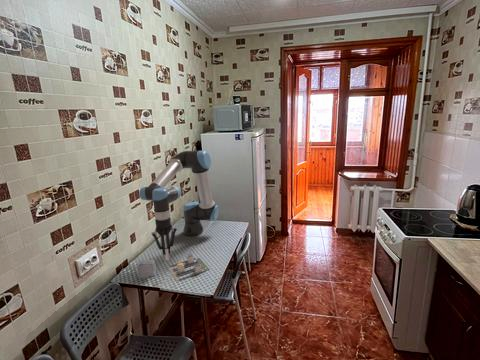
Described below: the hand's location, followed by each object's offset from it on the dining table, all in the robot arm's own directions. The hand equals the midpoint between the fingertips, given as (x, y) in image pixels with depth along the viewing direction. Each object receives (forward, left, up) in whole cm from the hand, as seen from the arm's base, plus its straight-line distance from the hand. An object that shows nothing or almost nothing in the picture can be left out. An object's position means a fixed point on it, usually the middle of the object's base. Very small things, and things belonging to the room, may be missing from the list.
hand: (167, 259), depth 139 cm
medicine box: (-8, -9, -11) cm, 17 cm away
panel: (0, +13, -11) cm, 17 cm away
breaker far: (-6, +15, -10) cm, 19 cm away
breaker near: (+6, +15, -10) cm, 19 cm away
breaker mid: (0, +7, -10) cm, 12 cm away
